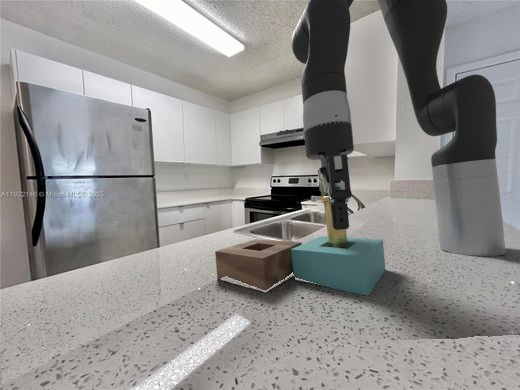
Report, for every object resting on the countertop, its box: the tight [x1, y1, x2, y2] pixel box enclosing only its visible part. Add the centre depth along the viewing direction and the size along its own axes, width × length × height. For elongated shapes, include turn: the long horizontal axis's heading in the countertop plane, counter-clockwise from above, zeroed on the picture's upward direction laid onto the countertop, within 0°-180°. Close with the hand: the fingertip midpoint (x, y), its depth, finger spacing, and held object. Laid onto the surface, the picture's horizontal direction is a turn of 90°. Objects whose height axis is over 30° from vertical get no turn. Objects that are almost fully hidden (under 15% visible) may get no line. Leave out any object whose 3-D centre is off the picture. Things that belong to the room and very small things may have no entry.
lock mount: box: [214, 238, 302, 291], centre depth 38 cm, size 11×11×5 cm
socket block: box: [291, 235, 387, 297], centre depth 35 cm, size 11×11×5 cm
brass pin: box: [320, 196, 348, 249], centre depth 35 cm, size 4×4×13 cm
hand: (336, 225), depth 35 cm, fingers open, 8 cm apart
